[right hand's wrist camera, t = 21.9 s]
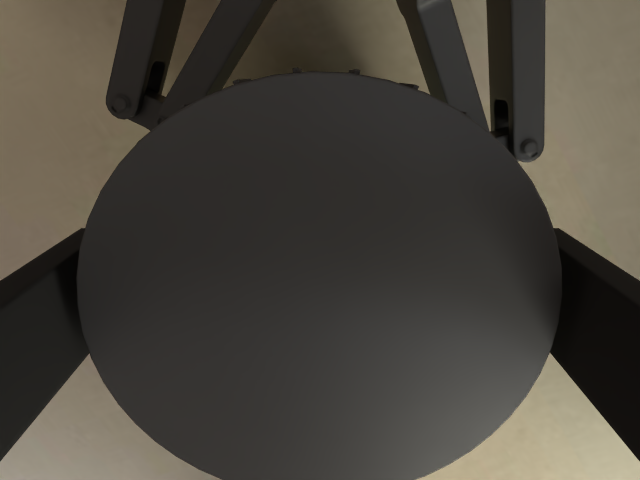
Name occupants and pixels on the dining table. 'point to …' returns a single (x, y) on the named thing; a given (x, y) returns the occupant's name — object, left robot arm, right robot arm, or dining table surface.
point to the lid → (319, 281)
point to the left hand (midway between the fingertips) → (310, 287)
